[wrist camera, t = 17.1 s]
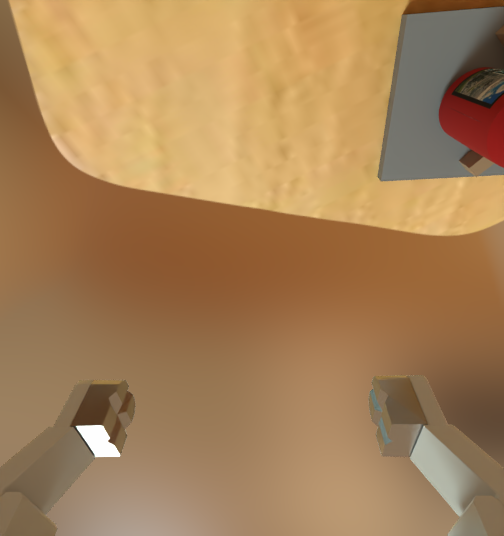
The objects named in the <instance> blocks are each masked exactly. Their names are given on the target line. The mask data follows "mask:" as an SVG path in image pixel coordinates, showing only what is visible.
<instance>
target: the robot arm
mask: <svg viewBox="0 0 504 536" xmlns="http://www.w3.org/2000/svg"><path fill="white" fill-rule="evenodd" d="M372 385H373V389H372V390H371V391H370V394H369V410H370V415H371V419H372V421H373V422H374V423H375V424H376V425H377V426H378V429H377V432H376V437H377V441H378V444H379V448H380V452H381V455H382V456H391V457H392V456H393V457H410V459H411V460H412V462H413V463H414V464H415V465H416V466H417V467H418V468H419V470H420V471H421V472H422V473H423V474H424V476H425V477H426V478H427V479H428V480H429V482H430V483H431V484H432V485H433V486H434V487H435V489H436V490H437V491H438V492H439V493H440V494H441V496H442V497H443V498H444V499H445V500H446V502H447V503H448V504H449V505H450V506H451V507H452V509H453V510H454V511H455V512H456V513H457V515H458V516H459V519H458V520H457V522H456V523H455V524H454V526H453V527H452V528H451V530H450V531H449V533H448V536H504V468H503V467H502V466H501V465H499V464H498V463H497V462H496V461H495V460H494V459H492V458H491V457H490V456H489V455H488V454H486V453H485V452H484V451H483V450H482V449H480V448H479V447H478V446H477V445H476V444H475V443H474V442H472V441H471V440H470V439H469V438H468V437H466V436H465V435H464V434H463V433H462V432H461V431H460V430H458V429H457V428H456V427H455V426H454V425H448V424H447V422H446V420H445V417H444V415H443V413H442V411H441V409H440V407H439V404H438V402H437V400H436V398H435V396H434V394H433V391H432V389H431V387H430V385H429V383H428V381H427V379H426V378H425V377H424V376H422V375H415V376H406V375H399V376H398V375H397V376H375V377H373V380H372ZM128 387H129V385H128V383H127V382H126V380H80V381H79V382H78V383H77V384H76V385H75V386H74V388H73V390H72V392H71V394H70V396H69V398H68V400H67V401H66V403H65V405H64V407H63V409H62V411H61V413H60V415H59V416H58V418H57V420H56V422H55V424H54V426H53V427H48V428H47V429H46V430H44V431H43V432H42V433H41V434H40V435H38V436H37V437H36V438H35V439H34V440H32V441H31V442H30V443H29V444H28V445H26V446H25V447H24V448H23V449H21V450H20V451H19V452H18V453H17V454H15V455H14V456H13V457H12V458H11V459H9V460H8V461H7V462H6V463H5V464H3V465H2V466H1V467H0V536H55V533H56V531H57V526H56V524H55V523H54V522H53V521H52V520H51V519H50V518H48V517H47V516H46V514H47V513H48V512H49V511H50V509H51V508H52V507H53V506H54V505H55V504H56V503H57V501H58V500H59V499H60V498H61V497H62V496H63V494H64V493H65V492H66V491H67V490H68V489H69V488H70V487H71V485H72V484H73V483H74V482H75V481H76V480H77V478H78V477H79V476H80V475H81V474H82V473H83V472H84V470H85V469H86V468H87V467H88V466H89V465H90V463H91V462H92V461H93V460H94V459H95V457H99V456H101V457H102V456H120V455H121V453H122V449H123V447H124V444H125V441H126V438H127V434H126V431H125V428H126V427H128V426H129V425H130V423H131V422H132V420H133V417H134V413H135V399H134V396H133V394H131V393H130V392H128V391H127V390H128Z"/></svg>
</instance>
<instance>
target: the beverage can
mask: <svg viewBox="0 0 504 536" xmlns="http://www.w3.org/2000/svg"><path fill="white" fill-rule="evenodd" d="M439 122H440V125H441V127H442V129H443V130H444V132H445V133H446V134H448V135H449V136H451V137H452V138H454V139H455V140H457V141H458V142H460V143H462V144H463V145H465V146H466V147H468V148H470V149H471V150H473V151H475V152H476V153H478V154H480V155H481V156H483V157H485V158H486V159H488V160H490V161H492V162H493V163H495V164H497V165H498V166H500V167H503V168H504V70H503V69H497V68H491V67H482V68H477V69H474V70H471V71H469V72H467V73H465V74H464V75H462V76H461V77H459V78H458V79H457V80H456V81H455V82H454V83H453V84H452V85H451V86H450V87H449V89H448V90H447V91H446V93H445V95H444V97H443V99H442V101H441V104H440V108H439Z"/></svg>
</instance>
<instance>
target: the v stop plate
mask: <svg viewBox="0 0 504 536" xmlns="http://www.w3.org/2000/svg"><path fill="white" fill-rule="evenodd" d="M482 67H491V68H497V69H503V70H504V6H502V7H490V8H478V9H466V10H454V11H443V12H431V13H419V14H407V15H402V19H401V26H400V32H399V39H398V45H397V52H396V59H395V65H394V72H393V79H392V85H391V92H390V98H389V105H388V112H387V118H386V125H385V131H384V138H383V145H382V151H381V158H380V164H379V171H378V178H379V179H380V181H396V180H415V179H434V178H453V177H472V176H476V177H477V176H491V175H504V168H503V167H500V166H498V165H497V164H495V163H493V162H492V161H490V160H488V159H486V158H485V157H483V156H481V155H480V154H478V153H476V152H475V151H473V150H471V149H470V148H468V147H466V146H465V145H463V144H462V143H460V142H458V141H457V140H455V139H454V138H452V137H451V136H449V135H448V134H446V133H445V132H444V130H443V129H442V127H441V125H440V122H439V108H440V104H441V101H442V99H443V97H444V95H445V93H446V91H447V90H448V89H449V87H450V86H451V85H452V84H453V83H454V82H455V81H456V80H457V79H458V78H459V77H461V76H462V75H464V74H465V73H467V72H469V71H471V70H474V69H477V68H482Z"/></svg>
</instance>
